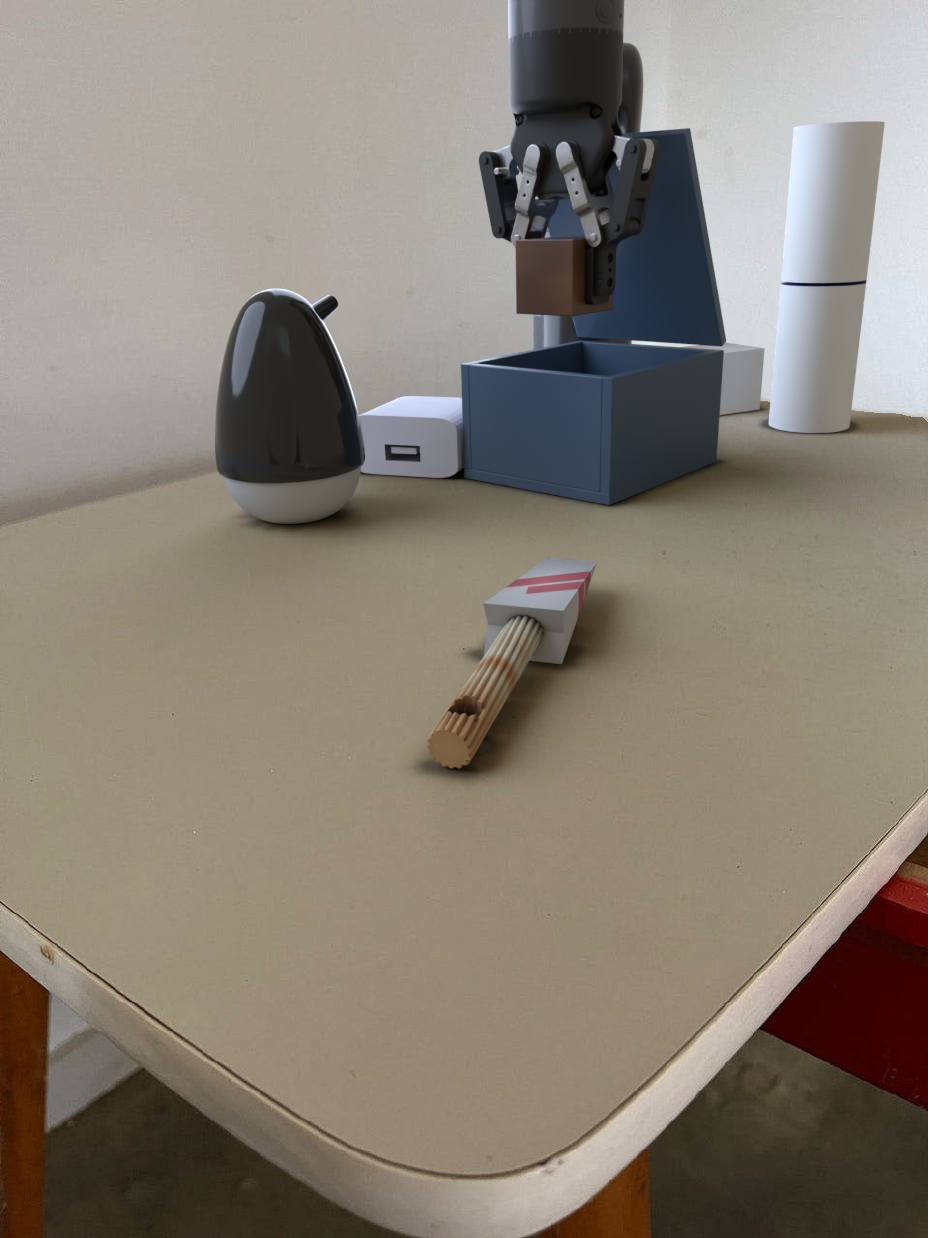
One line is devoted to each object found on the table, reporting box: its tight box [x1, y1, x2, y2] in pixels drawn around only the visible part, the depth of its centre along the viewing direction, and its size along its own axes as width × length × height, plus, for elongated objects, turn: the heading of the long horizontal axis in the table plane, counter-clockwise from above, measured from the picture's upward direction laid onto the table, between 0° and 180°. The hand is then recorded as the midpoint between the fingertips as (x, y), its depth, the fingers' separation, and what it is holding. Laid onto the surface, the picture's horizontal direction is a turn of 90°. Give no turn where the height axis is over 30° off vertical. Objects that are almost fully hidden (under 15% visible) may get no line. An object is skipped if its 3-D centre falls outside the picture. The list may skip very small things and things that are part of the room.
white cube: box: [684, 341, 765, 416], centre depth 100 cm, size 6×6×6 cm
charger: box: [358, 395, 464, 479], centre depth 85 cm, size 5×9×15 cm
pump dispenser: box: [214, 288, 365, 525], centre depth 68 cm, size 10×10×15 cm
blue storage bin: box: [460, 340, 724, 506], centre depth 78 cm, size 16×14×9 cm
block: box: [514, 236, 613, 316], centre depth 71 cm, size 5×5×5 cm
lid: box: [548, 127, 727, 346], centre depth 77 cm, size 16×14×5 cm
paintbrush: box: [426, 557, 598, 770], centre depth 46 cm, size 4×3×20 cm
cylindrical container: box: [768, 120, 886, 434], centre depth 87 cm, size 7×7×25 cm
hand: (564, 301), depth 72 cm, fingers closed on block, 5 cm apart
